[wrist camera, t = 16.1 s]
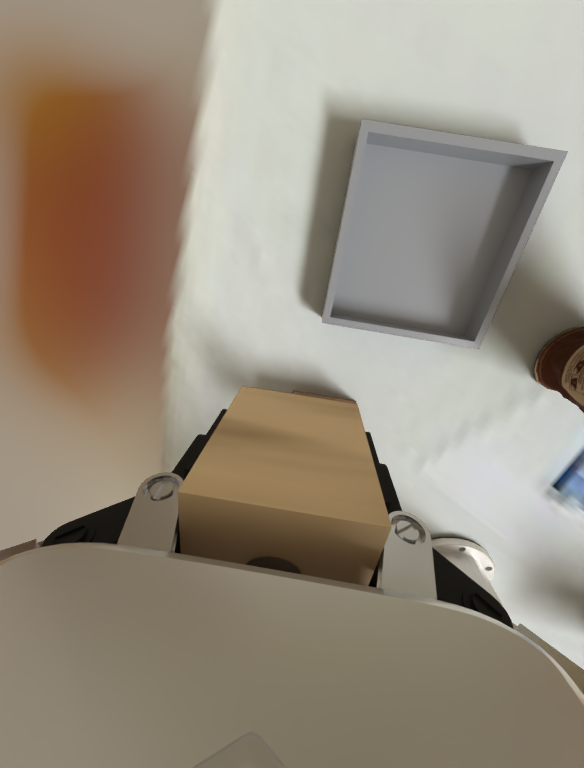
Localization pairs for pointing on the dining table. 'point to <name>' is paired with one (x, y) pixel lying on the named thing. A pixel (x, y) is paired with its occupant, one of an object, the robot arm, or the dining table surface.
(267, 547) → the oak block
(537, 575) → the dining table surface
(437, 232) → the tray
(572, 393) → the coffee cup
